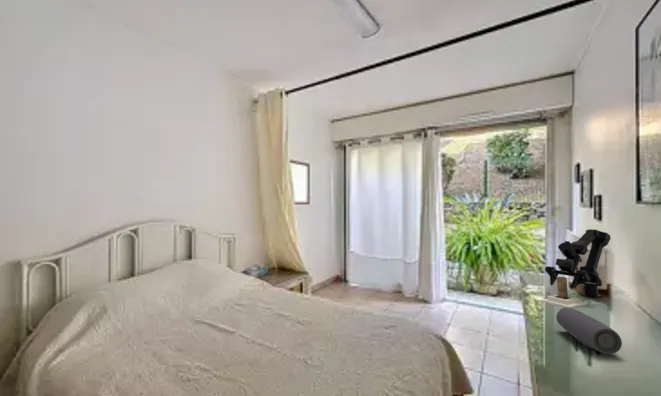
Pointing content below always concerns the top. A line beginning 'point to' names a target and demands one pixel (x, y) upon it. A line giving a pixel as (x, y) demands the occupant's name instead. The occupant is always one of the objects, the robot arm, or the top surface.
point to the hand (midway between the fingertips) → (560, 286)
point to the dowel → (562, 287)
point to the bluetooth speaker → (589, 331)
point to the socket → (564, 301)
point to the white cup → (553, 286)
